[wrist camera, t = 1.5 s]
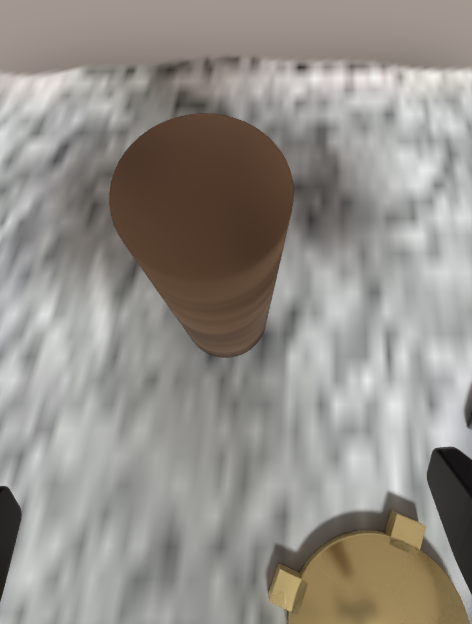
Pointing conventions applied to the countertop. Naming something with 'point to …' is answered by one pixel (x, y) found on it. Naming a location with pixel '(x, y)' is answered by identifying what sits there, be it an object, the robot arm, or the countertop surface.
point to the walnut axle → (207, 223)
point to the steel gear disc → (470, 423)
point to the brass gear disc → (370, 581)
